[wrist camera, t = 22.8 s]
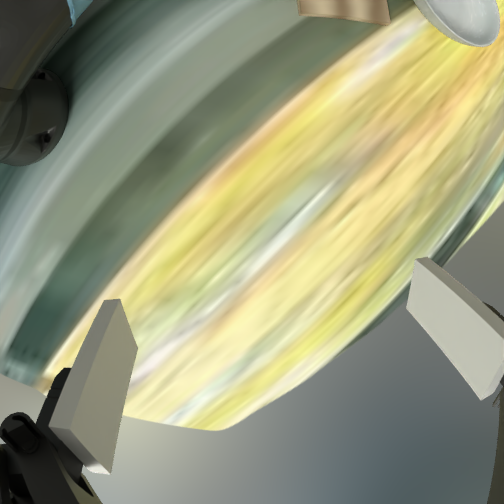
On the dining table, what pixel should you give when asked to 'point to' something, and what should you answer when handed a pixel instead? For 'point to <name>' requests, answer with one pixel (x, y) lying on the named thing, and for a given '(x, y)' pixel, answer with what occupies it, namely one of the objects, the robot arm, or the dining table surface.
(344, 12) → the oak board
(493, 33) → the serving bowl
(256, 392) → the dining table surface
